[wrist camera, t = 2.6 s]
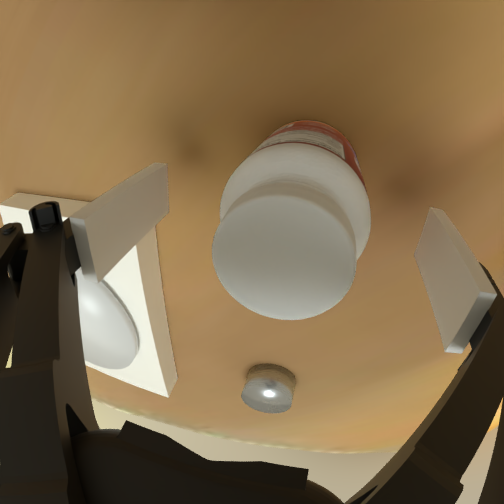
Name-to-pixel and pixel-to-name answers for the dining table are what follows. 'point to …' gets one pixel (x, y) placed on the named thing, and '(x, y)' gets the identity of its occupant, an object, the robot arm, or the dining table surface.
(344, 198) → the pill bottle
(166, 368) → the scale
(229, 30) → the dining table surface
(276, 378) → the shiny grey dome
